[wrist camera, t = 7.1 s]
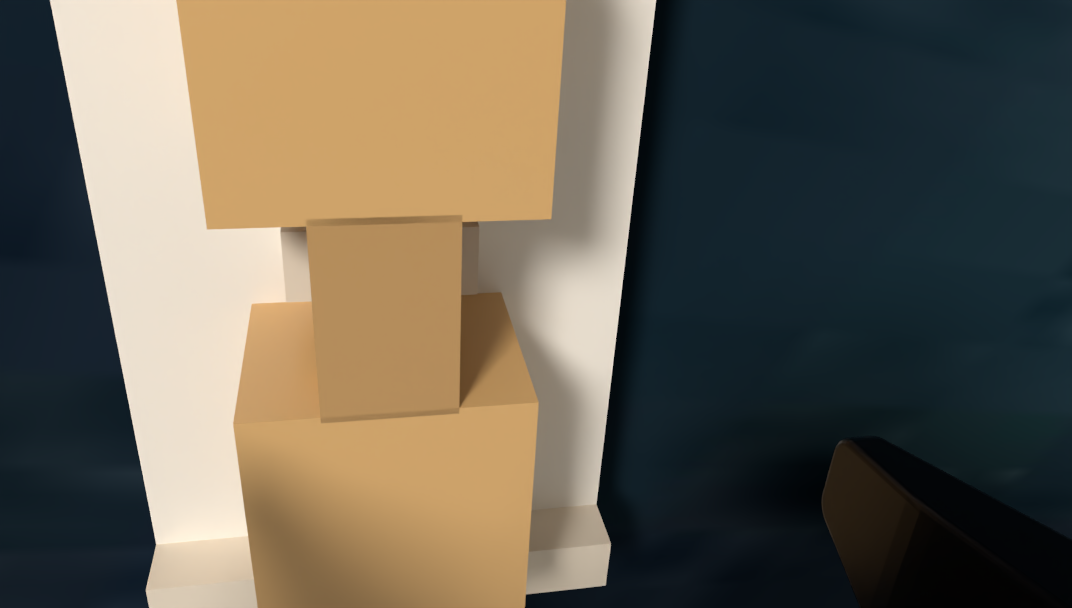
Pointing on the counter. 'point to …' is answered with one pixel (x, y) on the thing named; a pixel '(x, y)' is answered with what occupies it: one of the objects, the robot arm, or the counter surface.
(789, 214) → the counter surface
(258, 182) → the tan square dumbbell
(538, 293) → the display stand
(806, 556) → the counter surface
